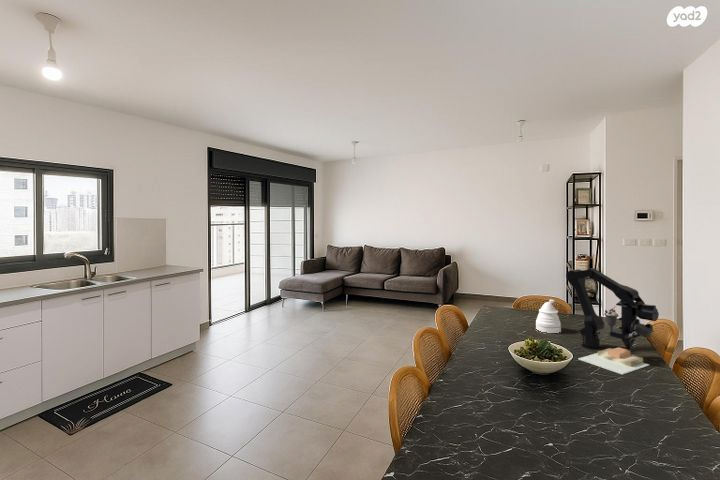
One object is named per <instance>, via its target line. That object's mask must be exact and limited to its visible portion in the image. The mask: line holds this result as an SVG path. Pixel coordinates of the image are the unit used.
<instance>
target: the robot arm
mask: <svg viewBox="0 0 720 480" xmlns="http://www.w3.org/2000/svg"><path fill="white" fill-rule="evenodd" d="M565 277H566V279H567V281H568V284H569V285H571V286H572V287H573V289H574V290H575V294H576V296H577V299H578V302H579V304H580V307H581V309H582V312H583V315H584V316H583V317H584V318H583V324H584V327H583V328H581V329H580V330H579V333H580V335H581V336H582V343H581V344H580V346H581V347H584V348H587V349H590V350H596V349H599V348H601V347H602V346H601V345H600V338H599V335H600V334H601V332H603V330H605V322H604V321H603V320H604V319H603V317H602V316H601V315H600V316H599V315H598V314H596V311H595V309H594V307H593V304H592V301H591V299H590V295H589V294H588V291H587V288H586V278H591V279H593V280H594V281H595V282H597V283H599V284H600V285H602V286H604V288H606V289H608V290H610V291H611V292H612V293H613V294H614V295H615V297H617V299H619V302H617V303H615V305H616V306H618V307H621V308H620V309H621V311H620V312H621V313H620V314H621V316H620V317H619V318H618V320H619V321H620V322H621V323H620V324H621V325H620V326H619V327H618V328H615V329H613V330H612V331H610V333H609V336H610V337H611V338H612V337H613V338H617V339H621V341H622V342H623V344H624V346H625V349H626V350H630V351H631V350H632V347H633V345H634V343H635V340H636V339H637V338H639V337H643V338H647V337H650V336H651V334H652V333H654V327H653V324H652V323H646V324H645V323H641V320H646V321H651V322H657V320H658V319H659V315H660V314H659V311H658V308H657V306H656V305H653V304H646V303H645V301H644V299H642V298H641V297H640V295H639V294H640V293H639V291H638V290H637V289H635V288H632V287H630V286H628V285H627V286H626V285H623V284H622V283H621V284H620V283H619V282H617V281H615V280H614V279H612V278H611V277H609V276H607V275H605V274H604V273H603V272H601V271H599V270H598V269H597V268H595V267H594V268H593V267H592V268H588V269H584V270H581V269H572V270H569V271H567V272H566V274H565ZM638 318H639V319H638Z"/></svg>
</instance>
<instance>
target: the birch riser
mask: <svg viewBox="0 0 720 480" xmlns="http://www.w3.org/2000/svg"><path fill="white" fill-rule="evenodd" d="M611 349H612V347H609V348H606V349H602V350H598V351H597V353H598V356H599V357H602V358H605V359H608V360H611V361H614V362H618V363H621V364H624V365H627V366H630V367H631V366H634V365H637V364H640V363H644V358H643V357H642V356H641V357H640V356H638V355H635V354H631V353H630V355H629V356H626V357H623V358H616V357H613V356H610V355H608V350H611Z"/></svg>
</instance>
